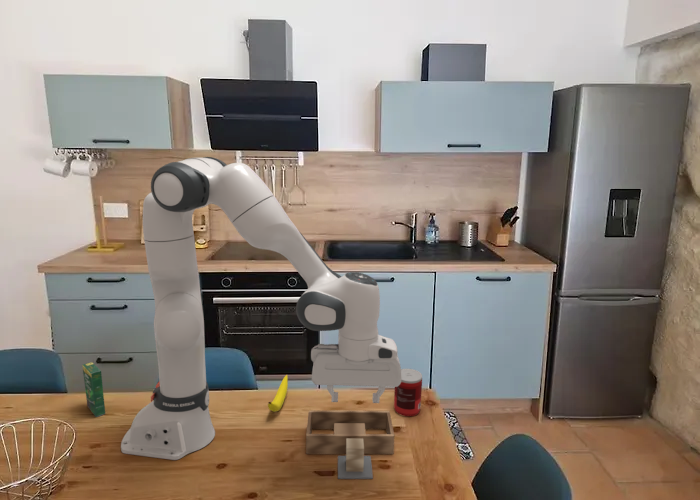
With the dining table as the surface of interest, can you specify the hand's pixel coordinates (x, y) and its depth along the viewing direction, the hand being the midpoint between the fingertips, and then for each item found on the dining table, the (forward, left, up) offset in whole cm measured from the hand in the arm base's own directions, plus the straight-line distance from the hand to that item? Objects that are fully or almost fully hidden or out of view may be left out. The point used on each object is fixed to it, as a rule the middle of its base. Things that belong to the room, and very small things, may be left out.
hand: (355, 401), depth 115 cm
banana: (-21, +28, -18) cm, 39 cm away
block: (0, 0, -17) cm, 17 cm away
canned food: (+16, +26, -18) cm, 35 cm away
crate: (-1, +11, -17) cm, 21 cm away
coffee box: (-72, +25, -18) cm, 78 cm away
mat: (0, 0, -17) cm, 17 cm away
